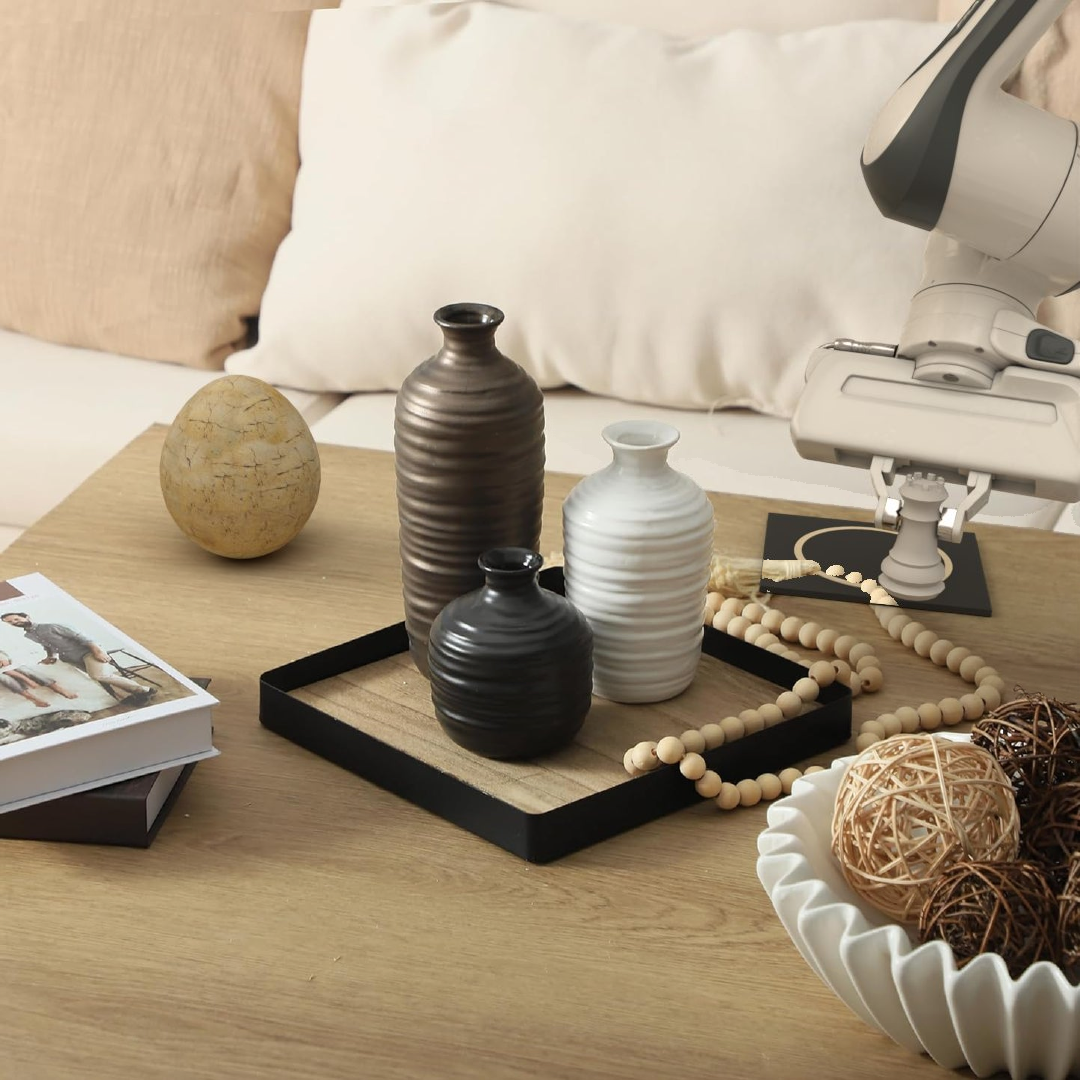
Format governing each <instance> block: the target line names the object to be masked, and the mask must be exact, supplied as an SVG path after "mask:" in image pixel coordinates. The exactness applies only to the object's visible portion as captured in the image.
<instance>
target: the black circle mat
mask: <svg viewBox="0 0 1080 1080" xmlns="http://www.w3.org/2000/svg"><path fill="white" fill-rule="evenodd" d="M766 520H767V521H766V530H765V537H764V547H763V554H762V560H763V559H764V560H767V559H769V560H813V561H815V562H817V563H819V565H820V567H821V570H820V571H819V572H817V575H816V574H815V575H807V576H803V577H800V578H799V577H797V578H792V579H788V580H782V581H779V582H775V581H773V580H772V579H768V578H764V579H762V578H761V577H760V579H761V580H759V588H758V589H759V590H758V591H759V592H760V593H766V594H768V593H767V590H768V591H770V593H769V594H777V595H786V596H795V597H805V598H812V599H813V598H815V599H822V600H830V601H831V600H832V601H839V602H840V601H841V602H851V603H860V604H869V605H871V604H870V600H871V596H870V594H868V593H867V592H863V591H862V590H861V583H862V582H863V581H864V580H867V579H872V580H876V583H877V586H878V587H880V588H882V586H881V584H880V583H879V576H880V575H881V574H882V573H883V572H882V570H881V564H882V562H883V560H884V559H885V558H886V557H887V556H889V551H890V550H891V549H892V548H893V547H894V545H895V542H896V539H897V536H898V532H899V529H900V525H901V524H899V528H898V531H897V532H894V531H888V530H882V529H877V528H875V523H874V522H868V521H860V520H849V519H842V518H841V519H839V518H831V517H820V516H819V517H818V516H809V515H799V514H788V513H779V512H768V513H767V519H766ZM937 530H938V528H937ZM937 549H938V554H939V555H940V556H941V561H940V562H941V563H942V564H943V565H944V568H945V577H944V578H943V579H942V581H943V582H944V584H945V589H944V590H943V591H942V592H941V593H940V594H938V595H937V596H936V597H935V598H933V599H929V600H921V601H914V600H905V599H902V598H898V597H895V596H893V595H891V594H889V593H888V595H890V596H891V597H892V598H894V600H895V601H896V602H897V604H898V605H899V606H900V607H899V608H906V609H907V608H908V609H917V610H923V611H924V610H925V611H934V612H944V613H951V614H962V615H970V616H981V617H991V618H992V613H993V608H992V603H991V599H990V594H989V589H988V585H987V581H986V576H985V572H984V568H983V563H982V558H981V553H980V550H979V545H978V540H977V537H976V533H975V532H971V531H963V535H962V539H961V542H960V543H953V542H950V541H945V540H940V539H938V535H937ZM833 565H840V566H842V567H843V568H844V572H845V573H844V574H843V575H839V576H837V575H836V576H833V575H832V576H831V575H827V574H826V570H827V569H828V568H829V567H830V566H833ZM851 572H859V573H861V575H862V581H860V582H859V583H857V582H856V583H851V582H849V581H847V579H846V578H845V576H846V575H848V574H850V573H851ZM882 589H883V588H882Z"/></svg>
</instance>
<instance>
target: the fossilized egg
mask: <svg viewBox="0 0 1080 1080" xmlns="http://www.w3.org/2000/svg"><path fill="white" fill-rule="evenodd" d="M321 481H322V471H321V458H320V454H319V450H318V447H317V443H316V441H315V439H314V436H313V434H312V432H311V430H310V428H309V426H308V424H307V422H306V420H305V419H304V418H303V416H302V414H301V413H300V411H299V410H298V408H296V407H295V405H293V404H292V402H291V401H290V400H289V399H288V398H287V397H286V396H285V395H283V394H282V393H281V392H280V391H279V390H278V389H277V388H275V387H274V386H273V385H271V384H269V383H267V382H266V381H264V380H262V379H260V378H256V377H253V376H249V375H245V374H230V375H224V376H221V377H219V378H216V379H213V380H211V381H210V382H208V383H207V384H205V385H204V386H202V387H201V388H199V389H198V390H197V391H196V392H195V393H194V394H193V395H192V396H191V397H190V398H189V399H188V400H187V401H186V402H185V404H184V405H183V406H182V407H181V409H180V410H179V411H178V412H177V414H176V416H175V418H174V419H173V421H172V423H171V425H170V427H169V429H168V431H167V434H166V436H165V440H164V443H163V445H162V449H161V455H160V460H159V484H160V489H161V492H162V498H163V500H164V503H165V507H166V509H167V511H168V513H169V515H170V516H171V518H172V520H173V521H174V523H175V524H176V526H177V527H178V528H179V529H180V531H182V532H183V534H185V536H186V537H187V538H189V540H190V541H192V542H193V543H195V544H196V545H198V546H199V547H201V548H203V549H204V550H205V551H207V552H210V553H212V554H214V555H217V556H221V557H225V558H229V559H237V560H245V559H254V558H259V557H263V556H265V555H268V554H271V553H273V552H276V551H277V550H279V549H281V548H283V547H284V546H285V545H287V544H288V543H289V542H290V541H292V540H293V539H294V538H295V537H297V536H298V534H299V533H300V532H301V531H302V529H303V528H304V527H305V526H306V524H307V523H308V521H309V520H310V518H311V516H312V514H313V511H314V509H315V507H316V505H317V502H318V499H319V494H320V488H321Z"/></svg>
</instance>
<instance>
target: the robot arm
mask: <svg viewBox="0 0 1080 1080" xmlns="http://www.w3.org/2000/svg"><path fill="white" fill-rule="evenodd" d="M1073 1H1074V0H974V1H973V3H972V4H971V5H970V6H969V8H968V9H967V10H966V12H965V13H964V14H963V15H962V17H961V18H960V19H959V20H958V22H957V23H956V24H955V25H954V26H953V28H952V29H951V30H950V31H949V33H948V34H947V35H946V36H945V37H944V39H943V40H942V41H941V42H940V43H939V44H938V45H937V46H936V47H935V49H934V50H933V51H932V52H931V53H930V54H929V55H928V56H927V57H926V58H925V59H924V60H923V61H922V62H921V63H920V64H919V65H918V67H916V68H915V69H914V70H913V72H912V73H910V75H909V76H908V77H906V79H905V80H904V81H903V83H902V84H901V85H900V86H899V87H898V88H897V89H896V91H895V92H894V93H893V94H892V95H891V96H890V97H889V99H888V100H887V101H886V102H885V103H884V105H883V106H882V108H880V109H879V112H878V113H877V115H876V116H875V118H874V120H873V121H872V124H871V126H870V129H869V130H868V133H867V136H866V139H865V142H864V145H863V147H862V151H861V154H860V159H859V164H860V169H861V173H862V177H863V179H864V182H865V185H866V187H867V191H868V192H869V194H870V196H871V198H872V200H873V202H874V204H875V206H876V208H877V209H878V211H879V212H880V214H881V215H882V217H883V218H886V219H889V220H892V221H895V222H899V223H901V224H904V225H908V226H911V227H913V228H917V229H920V230H923V231H926V232H929V233H928V236H927V239H926V242H925V247H924V249H923V255H922V273H923V274H922V279H921V280H920V281H921V282H920V284H919V285H918V287H917V288H916V290H915V291H914V293H913V295H912V297H911V299H910V302H909V306H908V310H907V312H906V316H905V320H904V323H903V327H902V332H901V334H900V338H899V343H898V344H891V343H884V342H874V341H873V342H871V341H870V342H868V341H865V342H864V341H857V340H855V339H852V338H843V337H842V338H836V339H835V340H834V342H827V343H824V344H822V345H819V346H818V347H817V348H814V350H813V351H812V352H811V354H810V356H809V359H808V361H807V365H806V368H805V372H804V382H805V386H804V388H803V390H802V391H801V393H800V396H799V399H798V402H797V403H796V405H795V408H794V412H793V413H792V417H791V420H790V423H789V435H790V439H791V442H792V444H793V446H794V448H795V451H796V452H797V454H798V455H799V457H800V458H801V459H803V460H808V461H814V462H819V463H825V464H831V465H837V466H843V467H848V468H849V467H850V468H855V469H861V470H869V473H870V478H871V484H872V487H873V490H874V493H875V495H876V499H877V501H878V502H877V506H876V509H875V513H874V520H873V523H875V528H877V529H882V530H888V531H894V532H897V531H898V528H899V525H900V522H901V518H902V516H901V515H900V513H899V511H900V509H901V508H902V507H903V502H902V499H899V498H895V497H894V498H893V497H891V496H890V494H889V491H888V488H887V486H888V487H892V486H894V481H895V477H896V475H898V476H905V477H906V476H907V475H908V474H911V475H913V476H912V478H913V477H914V472H921V473H922V477H921V479H927V476H928V473H931V474H936V475H935V481H936V482H937V478H938V477H942V478H943V479H944V482H945V483H946V484H953V485H959V486H965V487H966V493H967V494H966V496H965V497H964V499H963V500H961V502H960V503H959V504H958V505H957V506H956V507H954V508H952V507H945V506H942V509H941V519H940V520H939V521H938V528H937V529H938V530H937V535H938V539H940V540H945V541H950V542H953V543H960V542H961V539H962V535H963V532H965V527H966V523H969V522H970V520H971V519H973V518H974V517H975V516H976V515H977V514H978V513H979V512H980V511H981V510H982V509H984V507H985V506H986V505H987V504H989V500H990V496H991V492H992V491H996V492H1002V493H1006V494H1012V495H1013V494H1014V495H1018V496H1019V495H1020V496H1024V497H1031V498H1038V499H1043V500H1048V501H1049V500H1050V501H1056V502H1060V503H1061V502H1062V503H1067V504H1076V503H1078V502H1080V340H1079V339H1077V338H1074V337H1072V336H1070V335H1067V334H1064V333H1063V332H1060V331H1057V330H1055V329H1052V328H1051V327H1048V326H1045V325H1044V324H1041V323H1039V322H1037V321H1038V319H1037V318H1038V317H1037V316H1038V311H1039V306H1040V305H1041V303H1042V302H1043V301H1044V300H1045V298H1048V297H1050V296H1052V297H1053V298H1057V297H1061V296H1065V295H1068V294H1069V293H1072V292H1075V291H1077V290H1080V123H1079V122H1076V121H1074V120H1072V119H1066V118H1064V117H1061V116H1060V115H1057V114H1055V113H1054V112H1051V111H1048V110H1046V109H1044V108H1042V107H1039V106H1037V105H1035V104H1033V103H1031V102H1028V101H1026V100H1025V99H1021V98H1020V97H1018V96H1015V95H1012V94H1011V93H1008V92H1006V91H1004V90H1003V89H1002V87H1001V86H1002V85H1003V84H1004V82H1005V81H1006V80H1007V79H1008V78H1009V76H1010V75H1011V74H1012V73H1013V72H1014V71H1015V69H1017V67H1018V66H1019V64H1020V63H1021V62H1023V60H1024V59H1025V58H1026V56H1028V55H1029V53H1030V52H1031V51H1032V49H1033V48H1034V47H1035V46H1036V45H1037V43H1038V42H1039V41H1040V40H1041V39H1042V37H1044V35H1045V34H1046V33H1047V32H1048V30H1049V29H1051V27H1052V26H1053V25H1054V23H1055V22H1056V21H1057V20H1058V19H1059V18H1060V16H1061V15H1062V14H1063V12H1064V11H1065V10H1067V8H1069V6H1070V4H1071V3H1072V2H1073Z"/></svg>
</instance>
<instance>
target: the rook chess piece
mask: <svg viewBox="0 0 1080 1080" xmlns="http://www.w3.org/2000/svg"><path fill="white" fill-rule="evenodd" d="M935 475H936V474H931V473H928V476H927V479H922V478H921V477H922V473H921V472H914V477H912V476H913V475H911V474H908V475H907V476H905V481H904V483H902V485H901V486H899V487H898V493H899V495H900V497H901V499H902V500H903V504H902V508H901V509H900V511H899V513H900V515H901V516H902V517H901V520H900V524H899V525H900V529H899V532H898V536H897V539H896V542H895V545H894V547H893V548H892V549H891V550H890V551H889V556H887V557H886V558H885V559H884V560H883V562H882V564H881V570H882V572H883V573H882V574H881V575H880V576H879V583H880V584H881V586H882V588H883V589H884V590H885V591H886V592H887V593H889V594H891V595H893V596H895V597H898V598H902V599H905V600H914V601H921V600H929V599H933V598H935V597H936V596H937V595H938V594H940V593H941V592H942V591H943V590H944V589H945V584H944V582H943V581H942V579H943V578H944V577H945V568H944V565H943V564H942V563H941V562H940V561H941V556H940V555H939V554H938V549H937V529H938V525H939V522H940V521H941V513H942V511H940V509H941V505H942V504H944V502H945V501H946V500H947V499H948V498H949V492H948V490H947V488H946V487H945V483H946V482H944V479H943V478H942V477H938V478H937V481H935Z"/></svg>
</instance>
